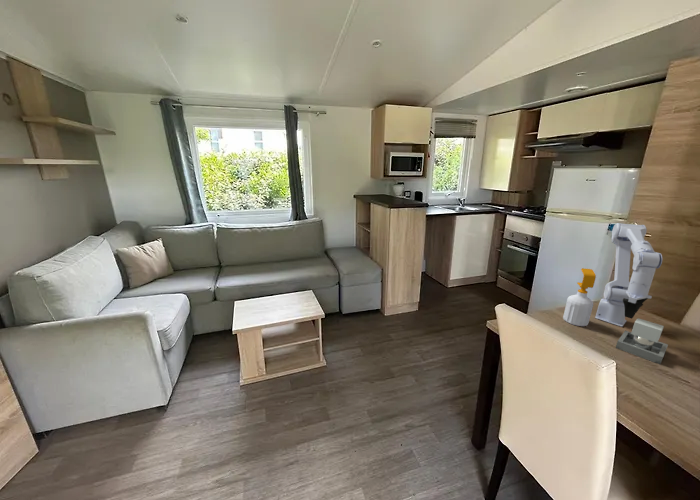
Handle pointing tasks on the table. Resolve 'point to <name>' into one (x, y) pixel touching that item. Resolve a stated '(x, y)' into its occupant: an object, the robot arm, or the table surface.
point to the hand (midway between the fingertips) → (630, 314)
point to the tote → (653, 355)
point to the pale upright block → (647, 330)
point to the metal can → (642, 343)
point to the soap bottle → (580, 301)
